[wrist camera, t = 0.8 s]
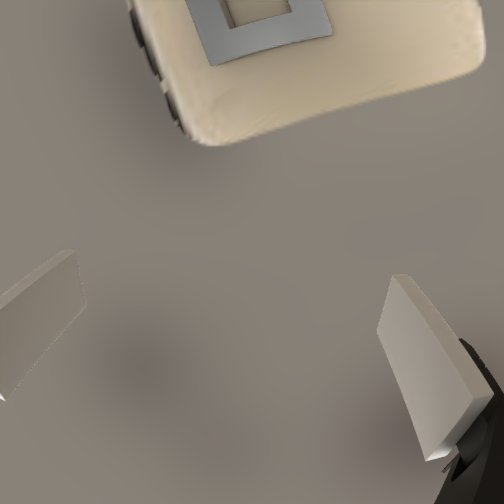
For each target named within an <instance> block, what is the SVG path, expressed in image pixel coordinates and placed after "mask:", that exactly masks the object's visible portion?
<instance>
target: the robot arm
mask: <svg viewBox="0 0 504 504" xmlns="http://www.w3.org/2000/svg"><path fill="white" fill-rule="evenodd" d="M86 306H87V303H86V299H85V295H84V290H83V285H82V280H81V276H80V270H79V265H78V259H77V253H76V251H71V250H63V251H61V252H59V253H58V254H57V255H55V256H54V257H52V258H51V259H49V260H48V261H46V262H45V263H44V264H42V265H41V266H40V267H38V268H37V269H35V270H34V271H32V272H31V273H30V274H28V275H27V276H26V277H24V278H23V279H22V280H20V281H19V282H18V283H16V284H15V285H14V286H13V287H11V288H10V289H9V290H7V291H6V292H5V293H4V294H2V295H1V296H0V398H1V399H2V400H4V401H7V399H8V398H9V396H10V395H11V394H12V393H13V391H14V390H15V389H16V388H17V386H18V385H19V384H20V382H21V381H22V380H23V379H24V377H25V376H26V375H27V374H28V372H29V371H30V370H31V369H32V367H33V366H34V365H35V364H36V363H37V361H38V360H39V359H40V358H41V357H42V355H43V354H44V353H45V352H46V351H47V350H48V348H49V347H50V346H51V345H52V344H53V343H54V341H55V340H56V339H57V338H58V337H59V336H60V335H61V334H62V332H63V331H64V330H65V329H66V328H67V327H68V326H69V325H70V323H71V322H72V321H73V320H74V319H75V318H76V317H77V316H78V315H79V313H80V312H81V311H82V310H83V309H84V308H85V307H86ZM376 332H377V334H378V336H379V339H380V341H381V343H382V346H383V348H384V350H385V353H386V355H387V358H388V360H389V362H390V365H391V367H392V370H393V372H394V374H395V377H396V379H397V382H398V385H399V387H400V390H401V392H402V395H403V398H404V400H405V403H406V406H407V408H408V411H409V413H410V416H411V419H412V422H413V425H414V428H415V430H416V433H417V436H418V439H419V442H420V445H421V448H422V451H423V454H424V458H425V461H428V460H432V459H436V458H440V457H443V456H446V455H447V454H448V453H449V452H450V451H451V450H452V449H453V447H454V446H455V445H457V448H458V450H459V453H458V454H457V455H456V456H455V457H454V459H452V461H451V462H450V463H449V464H448V465H447V466H446V467H445V468H444V470H443V471H442V472H443V473H445V472H446V471H447V470H448V469H449V468H450V467H451V468H450V471H449V473H448V475H447V477H446V480H445V482H444V484H443V486H442V488H441V491H440V493H439V495H438V497H437V499H436V501H435V503H434V504H504V393H503V392H502V390H501V388H500V387H499V385H498V384H497V382H496V381H495V379H494V378H493V376H492V375H491V373H490V372H489V370H488V369H487V368H485V364H484V363H483V361H482V360H481V359H479V356H478V354H477V353H476V351H475V350H474V348H473V347H472V346H471V345H469V344H468V343H467V342H466V341H464V340H463V339H462V338H461V339H458V338H457V337H456V335H455V334H454V333H453V331H452V330H451V328H450V327H449V326H448V325H447V323H446V322H445V320H444V319H443V318H442V316H441V315H440V314H439V312H438V311H437V310H436V309H435V307H434V306H433V305H432V303H431V302H430V301H429V299H428V298H427V297H426V296H425V294H424V293H423V292H422V291H421V289H420V288H419V287H418V286H417V284H416V283H415V282H414V281H413V279H412V278H411V277H410V276H409V275H399V274H393V275H392V278H391V282H390V286H389V290H388V294H387V297H386V301H385V304H384V308H383V311H382V315H381V318H380V321H379V325H378V328H377V331H376Z"/></svg>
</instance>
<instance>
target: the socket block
mask: <svg viewBox="0 0 504 504" xmlns="http://www.w3.org/2000/svg"><path fill="white" fill-rule="evenodd" d="M185 1H186V4H187V6H188V9H189V11H190V14H191V17H192V19H193V22H194V24H195V27H196V29H197V32H198V34H199V37H200V40H201V42H202V45H203V47H204V50H205V53H206V55H207V58H208V61H209V63H210V66H214V65H218V64H221V63H224V62H227V61H230V60H233V59H236V58H240V57H243V56H246V55H249V54H253V53H256V52H260V51H263V50H267V49H271V48H275V47H279V46H283V45H287V44H291V43H296V42H300V41H305V40H310V39H315V38H320V37H326V36H332V35H333V31H332V28H331V25H330V22H329V19H328V16H327V13H326V10H325V7H324V4H323V2H322V0H288V3H289V6H290V8H291V11H292V12H290V13H285V14H281V15H277V16H273V17H269V18H266V19H262V20H258V21H255V22H252V23H248V24H245V25H242V26H239V27H236V28H235V26H234V23H233V21H232V18H231V15H230V13H229V10H228V8H227V5H226V3H225V0H185Z"/></svg>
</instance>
